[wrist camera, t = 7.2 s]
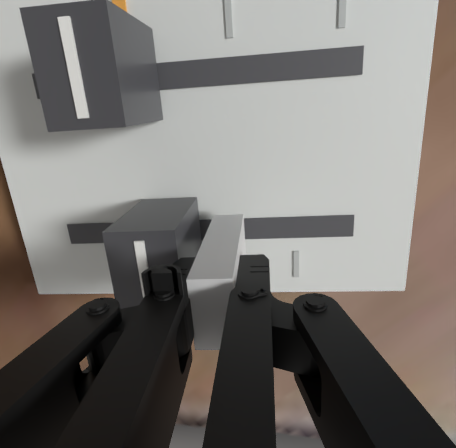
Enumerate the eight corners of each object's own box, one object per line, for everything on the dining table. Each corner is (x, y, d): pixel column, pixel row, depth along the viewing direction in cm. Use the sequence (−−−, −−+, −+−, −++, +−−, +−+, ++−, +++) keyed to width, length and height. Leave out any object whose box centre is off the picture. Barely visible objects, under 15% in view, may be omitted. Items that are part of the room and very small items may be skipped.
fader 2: (142, 199, 19) (100, 233, 14) (196, 196, 18) (173, 231, 14) (152, 266, 20) (117, 318, 15) (203, 265, 20) (184, 318, 15)
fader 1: (89, 34, 16) (17, 6, 11) (152, 28, 16) (104, -3, 11) (105, 123, 17) (46, 132, 13) (163, 119, 17) (124, 127, 12)
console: (-13, 11, 18) (-46, 1, 16) (423, -35, 16) (446, -55, 14) (56, 278, 24) (37, 295, 22) (392, 273, 21) (405, 291, 19)
